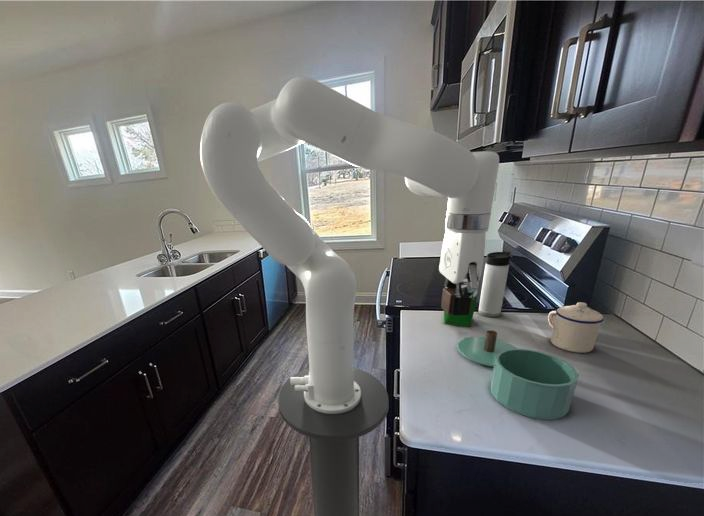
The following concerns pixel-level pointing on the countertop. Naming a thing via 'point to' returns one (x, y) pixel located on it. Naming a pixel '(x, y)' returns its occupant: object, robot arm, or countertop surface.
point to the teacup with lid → (575, 327)
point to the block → (449, 300)
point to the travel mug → (494, 283)
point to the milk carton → (462, 319)
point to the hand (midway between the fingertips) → (454, 308)
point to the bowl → (533, 383)
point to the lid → (483, 348)
